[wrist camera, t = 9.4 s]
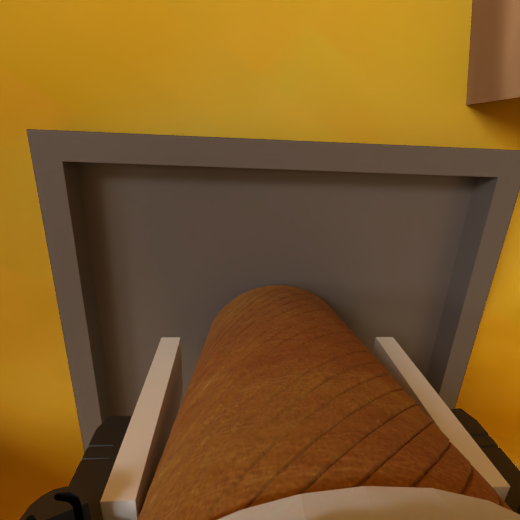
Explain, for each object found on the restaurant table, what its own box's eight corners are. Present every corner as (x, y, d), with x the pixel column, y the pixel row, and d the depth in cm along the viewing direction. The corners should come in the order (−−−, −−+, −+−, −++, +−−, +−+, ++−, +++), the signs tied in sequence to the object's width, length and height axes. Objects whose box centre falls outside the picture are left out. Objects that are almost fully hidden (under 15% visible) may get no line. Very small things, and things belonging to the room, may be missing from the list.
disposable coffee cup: (415, 346, 16) (837, 837, 5) (267, 455, 18) (320, 1003, 7) (285, 200, 13) (565, 555, 2) (124, 346, 15) (-212, 975, 4)
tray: (107, 468, 19) (93, 504, 17) (56, 130, 13) (26, 129, 11) (412, 459, 21) (429, 491, 19) (492, 149, 15) (530, 150, 13)
